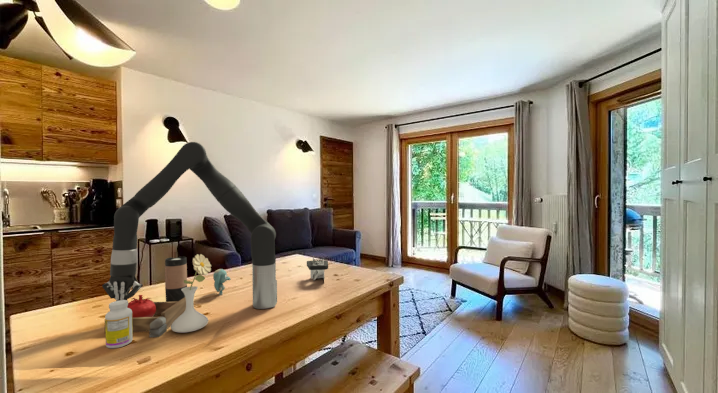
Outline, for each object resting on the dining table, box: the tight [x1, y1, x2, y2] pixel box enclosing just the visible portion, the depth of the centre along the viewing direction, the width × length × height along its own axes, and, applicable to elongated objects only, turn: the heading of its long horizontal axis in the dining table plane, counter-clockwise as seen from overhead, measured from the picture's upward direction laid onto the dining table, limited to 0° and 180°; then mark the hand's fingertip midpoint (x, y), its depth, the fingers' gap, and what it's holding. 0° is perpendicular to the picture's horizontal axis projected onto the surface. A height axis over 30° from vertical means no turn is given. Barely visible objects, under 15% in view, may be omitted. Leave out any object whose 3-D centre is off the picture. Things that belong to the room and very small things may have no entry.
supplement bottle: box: [104, 299, 134, 349], centre depth 96 cm, size 7×7×13 cm
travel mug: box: [164, 256, 188, 302], centre depth 127 cm, size 8×8×20 cm
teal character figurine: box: [212, 268, 231, 296], centre depth 142 cm, size 11×7×12 cm
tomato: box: [127, 294, 156, 318], centre depth 113 cm, size 10×10×9 cm
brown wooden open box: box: [132, 297, 186, 338], centre depth 111 cm, size 20×21×6 cm
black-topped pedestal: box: [306, 255, 329, 281], centre depth 161 cm, size 28×26×13 cm
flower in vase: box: [170, 253, 212, 334], centre depth 108 cm, size 13×11×25 cm
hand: (121, 310), depth 112 cm, fingers closed
